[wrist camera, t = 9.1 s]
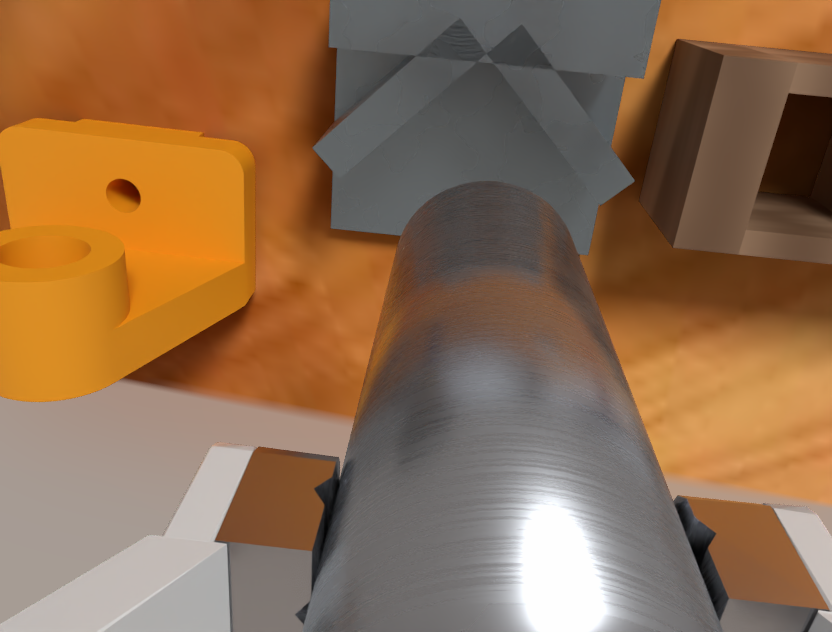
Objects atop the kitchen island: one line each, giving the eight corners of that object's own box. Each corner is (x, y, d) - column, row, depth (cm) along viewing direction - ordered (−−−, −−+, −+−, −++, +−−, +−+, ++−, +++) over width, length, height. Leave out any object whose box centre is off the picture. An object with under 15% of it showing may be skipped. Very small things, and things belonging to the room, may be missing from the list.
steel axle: (592, 191, 15) (840, 637, 5) (558, 357, 17) (693, 926, 7) (401, 171, 15) (275, 573, 5) (388, 338, 17) (275, 876, 7)
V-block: (642, -33, 28) (683, -32, 23) (584, 247, 34) (607, 300, 28) (344, -62, 29) (317, -68, 23) (334, 221, 34) (309, 269, 29)
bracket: (260, 138, 33) (158, 224, 22) (259, 282, 36) (171, 419, 25) (28, 112, 33) (-186, 184, 22) (49, 257, 36) (-129, 383, 25)
